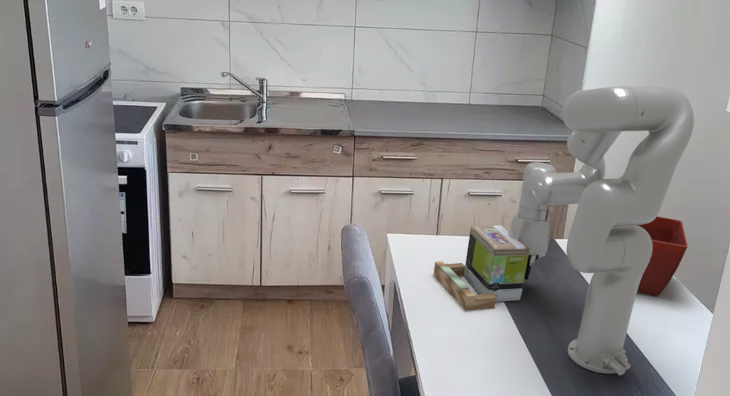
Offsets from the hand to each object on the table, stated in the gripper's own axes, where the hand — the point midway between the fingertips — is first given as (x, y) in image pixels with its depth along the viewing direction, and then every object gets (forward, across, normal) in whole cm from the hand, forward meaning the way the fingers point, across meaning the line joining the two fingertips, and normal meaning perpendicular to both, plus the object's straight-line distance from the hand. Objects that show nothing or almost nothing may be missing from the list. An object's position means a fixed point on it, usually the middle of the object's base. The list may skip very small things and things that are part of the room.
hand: (522, 277), depth 182 cm
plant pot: (+4, -34, +2) cm, 34 cm away
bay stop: (+3, +16, -1) cm, 16 cm away
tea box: (+3, +8, -1) cm, 9 cm away
